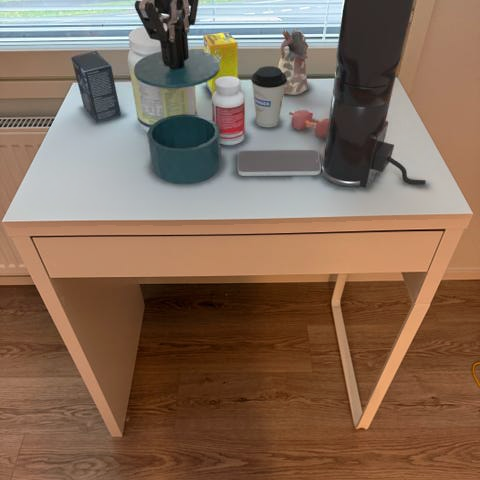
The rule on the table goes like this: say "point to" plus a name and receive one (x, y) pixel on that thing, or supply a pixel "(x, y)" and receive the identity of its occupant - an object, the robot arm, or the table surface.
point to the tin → (185, 148)
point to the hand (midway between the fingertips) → (176, 61)
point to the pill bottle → (229, 110)
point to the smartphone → (278, 162)
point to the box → (96, 86)
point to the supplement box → (222, 55)
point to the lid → (177, 68)
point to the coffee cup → (268, 95)
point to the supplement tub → (155, 98)
